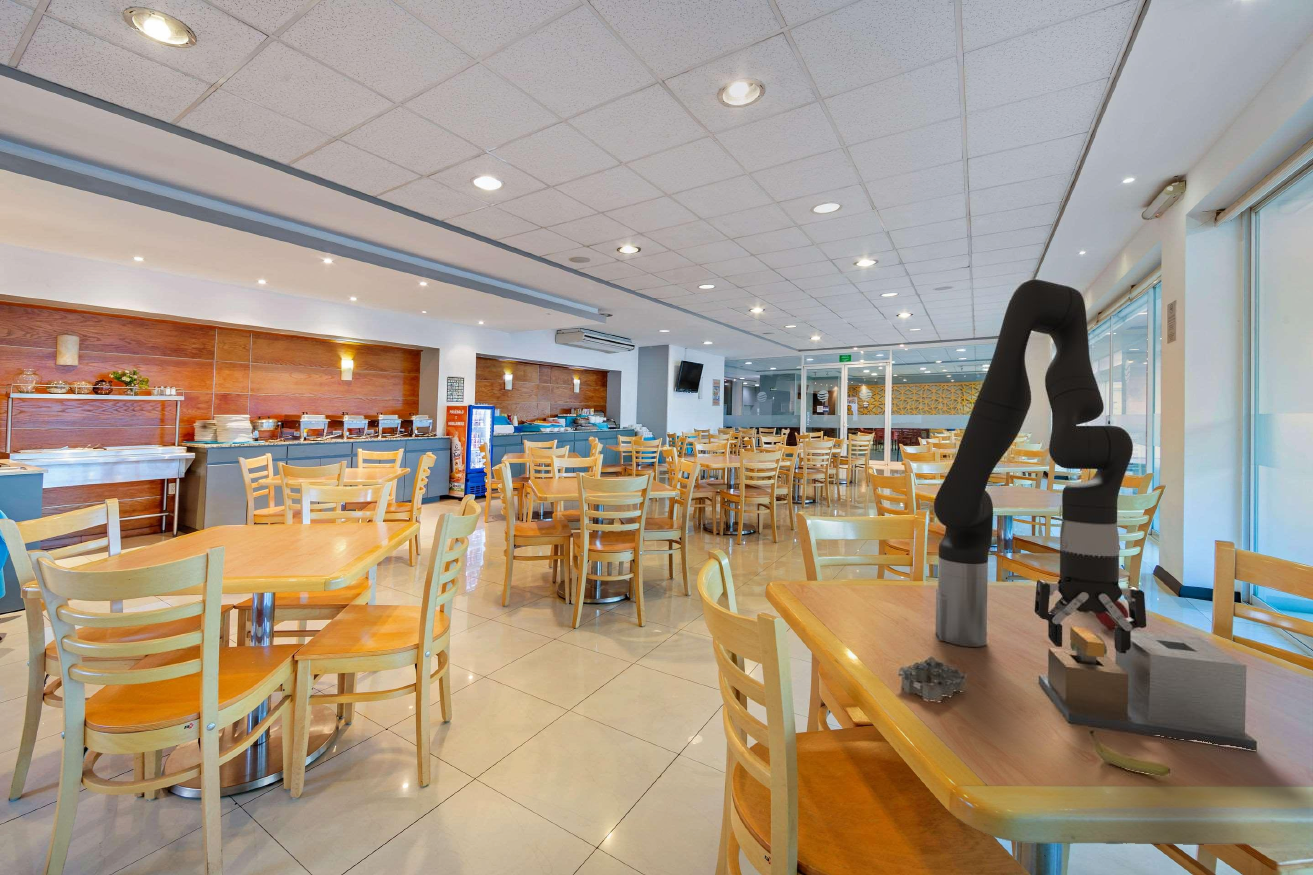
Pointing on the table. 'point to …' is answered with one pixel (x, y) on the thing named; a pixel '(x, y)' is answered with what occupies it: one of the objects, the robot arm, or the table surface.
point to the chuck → (1155, 690)
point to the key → (1086, 645)
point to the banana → (1128, 760)
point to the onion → (1107, 620)
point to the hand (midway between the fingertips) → (1088, 648)
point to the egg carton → (932, 679)
